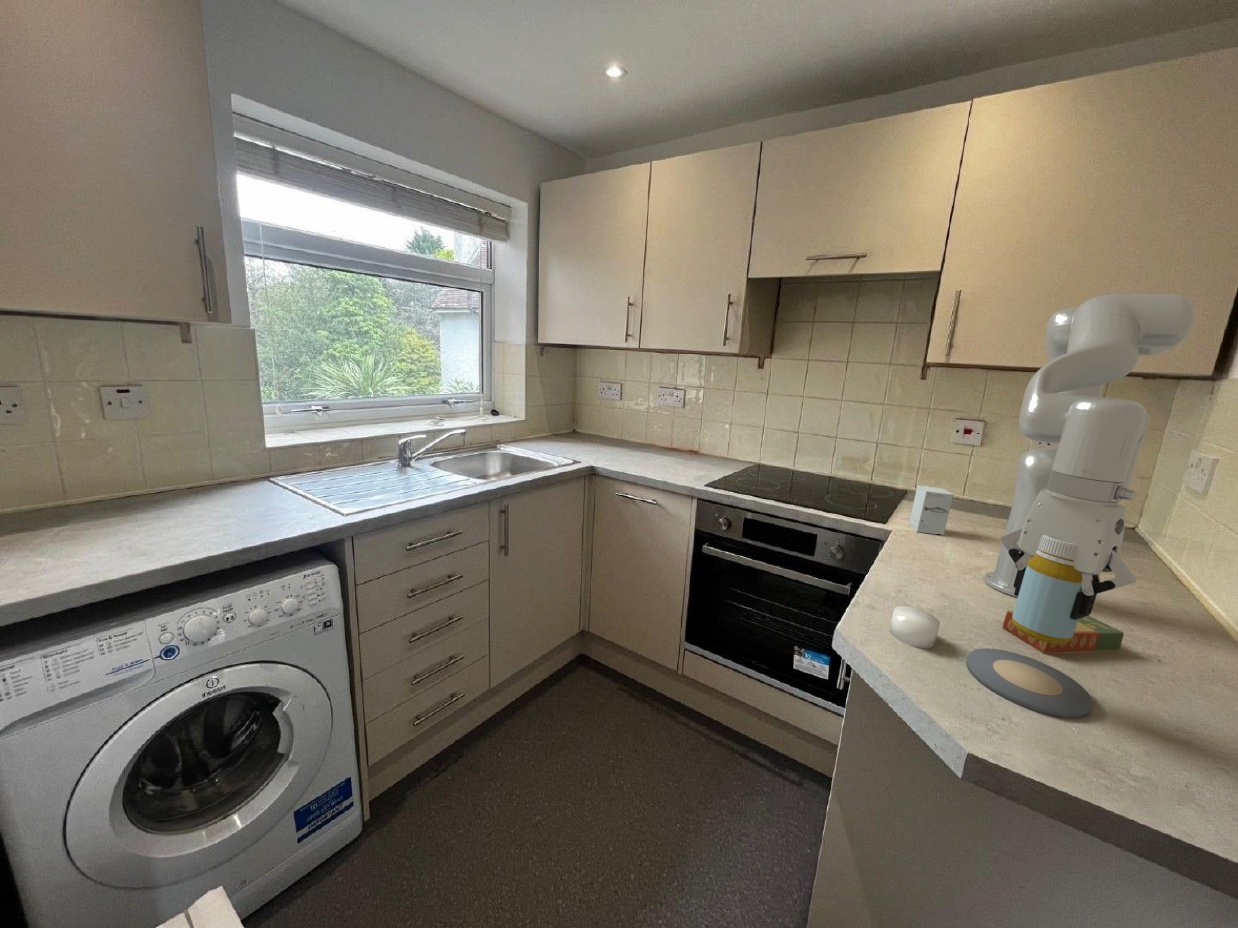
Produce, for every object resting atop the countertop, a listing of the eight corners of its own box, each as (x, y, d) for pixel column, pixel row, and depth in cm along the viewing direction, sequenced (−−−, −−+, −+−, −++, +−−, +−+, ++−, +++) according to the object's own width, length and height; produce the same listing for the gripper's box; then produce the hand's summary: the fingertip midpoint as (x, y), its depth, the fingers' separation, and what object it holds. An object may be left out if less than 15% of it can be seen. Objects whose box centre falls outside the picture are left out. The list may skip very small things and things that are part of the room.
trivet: (999, 646, 86) (1000, 640, 86) (1111, 703, 73) (1113, 696, 73) (945, 664, 80) (947, 658, 79) (1058, 729, 67) (1060, 722, 66)
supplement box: (916, 532, 145) (925, 490, 142) (908, 524, 152) (916, 484, 149) (944, 536, 143) (954, 494, 140) (934, 528, 150) (944, 487, 147)
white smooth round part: (905, 623, 92) (910, 603, 91) (943, 644, 86) (949, 623, 85) (880, 629, 89) (884, 609, 88) (917, 652, 83) (923, 630, 82)
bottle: (1011, 615, 79) (1036, 526, 76) (1069, 633, 75) (1098, 539, 72) (1009, 631, 74) (1036, 536, 70) (1072, 652, 70) (1104, 552, 66)
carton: (1000, 629, 93) (1005, 608, 92) (1070, 628, 96) (1076, 607, 95) (1044, 655, 85) (1050, 633, 84) (1119, 653, 88) (1126, 631, 87)
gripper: (1181, 505, 64) (1137, 632, 67) (1026, 472, 79) (998, 577, 83) (1156, 509, 60) (1112, 642, 64) (999, 473, 75) (971, 583, 79)
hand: (1048, 604), depth 73 cm, fingers closed on bottle, 6 cm apart
